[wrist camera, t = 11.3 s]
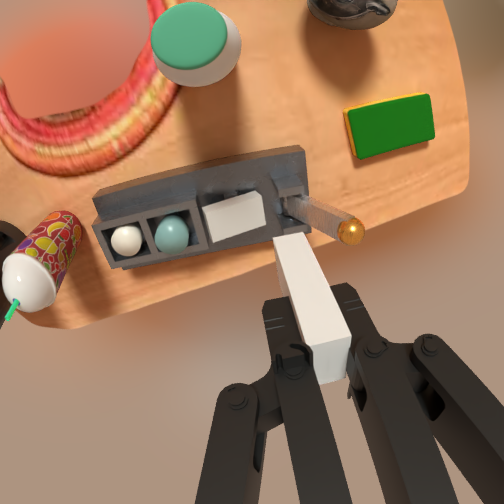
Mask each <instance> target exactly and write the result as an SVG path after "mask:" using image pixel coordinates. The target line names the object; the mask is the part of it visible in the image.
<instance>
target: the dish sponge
mask: <svg viewBox="0 0 504 504" xmlns="http://www.w3.org/2000/svg"><path fill="white" fill-rule="evenodd" d="M343 114H344V119H345V123H346V127H347V131H348V135H349V140H350V144H351V149H352V154H353V155H354V156H356V157H357V158H359V159H360V160H361V159H365V158H368V157H371V156H375V155H378V154H381V153H385V152H388V151H392V150H395V149H399V148H402V147H406V146H410V145H413V144H417V143H421V142H424V141H428V140H432V139H434V138H435V130H434V122H433V114H432V107H431V100H430V96H429V95H428V94H425V93H422V92H419V93H413V94H408V95H402V96H397V97H392V98H387V99H383V100H378V101H374V102H369V103H365V104H361V105H356V106H352V107H348V108H344V110H343Z"/></svg>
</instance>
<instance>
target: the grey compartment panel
mask: <svg viewBox="0 0 504 504" xmlns="http://www.w3.org/2000/svg"><path fill="white" fill-rule="evenodd" d="M252 191H256V192H258V193H259V194H260V195H261V196H262V202H263V208H264V214H265V221H266V225H264V226H261V227H258V228H255V229H252V230H249V231H246V232H243V233H240V234H237V235H234V236H231V237H229V238H226V239H223V240H220V241H217V242H214V243H213V242H212V240H211V238H210V236H209V233H208V229H207V226H206V222H205V218H204V215H203V211H202V207H205V206H208V205H211V204H214V203H217V202H220V201H223V200H226V199H230V198H233V197H236V196H239V195H242V194H246V193H249V192H252ZM298 194H304V195H307V196H309V190H308V179H307V168H306V158H305V150H304V149H303V148H302V147H300V146H299V145H294V146H287V147H281V148H275V149H269V150H263V151H257V152H251V153H246V154H241V155H235V156H230V157H225V158H220V159H216V160H211V161H206V162H202V163H197V164H193V165H189V166H184V167H180V168H176V169H172V170H168V171H164V172H160V173H156V174H152V175H149V176H145V177H141V178H138V179H134V180H130V181H127V182H123V183H120V184H117V185H113V186H110V187H107V188H103V189H100V190H99V191H98V192H97V193H96V194H95V196H94V197H93V198H92V200H93V202H94V205H95V207H96V210H97V212H98V216H97V218H96V219H95V221H94V222H93V224H92V225H91V226H92V228H93V230H94V233H95V235H96V237H97V239H98V242H99V244H100V246H101V248H102V250H103V252H104V254H105V257H106V259H107V261H108V263H109V265H110V267H111V269H115V268H119V267H122V269H123V270H127V269H131V268H136V267H141V266H146V265H151V264H156V263H161V262H166V261H171V260H176V259H181V258H186V257H190V256H195V255H200V254H205V253H210V252H215V251H220V250H226V249H231V248H236V247H241V246H246V245H251V244H256V243H261V242H266V241H271V240H273V238H274V237H279V236H284V235H289V234H294V233H300V232H303V233H304V234H307V233H312V232H311V226H310V225H308V224H306V223H304V222H302V221H300V220H298V219H296V218H294V217H292V216H286V215H284V213H283V205H282V197H287V196H292V195H298ZM170 215H175V216H179V217H181V218H183V219H184V220H185V221H186V222H187V223H188V226H189V238H188V244H187V247H186V248H185V250H183V251H182V252H180V253H178V254H166V253H164V252H162V251H161V250H160V249H158V247H157V246H156V244H155V234H156V231H157V228H158V225H159V222H160V221H161V220H162V219H163V218H164V217H167V216H170ZM132 222H137V223H138V224H139V225H140V226H141V228H142V231H143V234H144V238H143V241H142V244H141V247H140V249H139V251H138V252H137V253H136V254H135V255H132V256H123V255H121V254H119V253H117V252H116V251H115V250H114V248H113V247H112V244H111V238H112V235H113V234H114V232H115V230H116V228H117V226H120V225H124V224H128V223H132Z"/></svg>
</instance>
